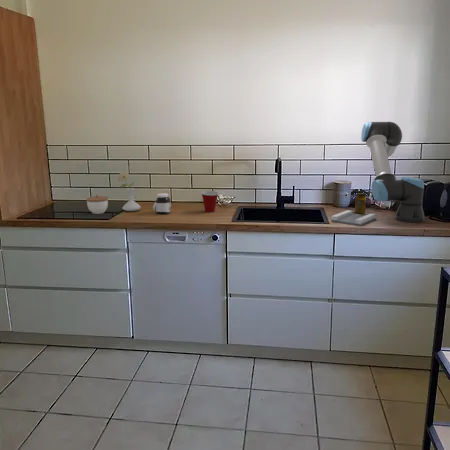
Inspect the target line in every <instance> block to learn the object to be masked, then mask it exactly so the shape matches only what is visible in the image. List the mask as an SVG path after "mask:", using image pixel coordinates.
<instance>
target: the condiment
mask: <svg viewBox="0 0 450 450" xmlns="http://www.w3.org/2000/svg"><path fill="white" fill-rule="evenodd" d="M366 197H367V196H366V194H365V193H357V196H355V200H354V201H355V203H354V211H352V214H354V215H361V216H363V215H368V214H369V212H366V208H367V207H366V205H367V198H366Z"/></svg>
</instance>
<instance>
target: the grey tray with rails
mask: <svg viewBox="0 0 450 450" xmlns="http://www.w3.org/2000/svg"><path fill="white" fill-rule="evenodd" d="M352 212H353V210H349V209H348V210H344V211H342V212H339V213H336V214H334V215H331V216H330V217H331V218H330V222H333V223H339V224H345V225H351V226H357V225H358V227H359V226H360V227H361V225H362V226H363V225H366V224H369V223H370V222H372V221H375V220H376V216H377V214H376V213H368V214H365V215H356V214H352Z"/></svg>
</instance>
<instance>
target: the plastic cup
mask: <svg viewBox="0 0 450 450" xmlns="http://www.w3.org/2000/svg"><path fill="white" fill-rule="evenodd" d="M219 193H220V192H218V191H215V190H203V191H201V192H200V194H201V196H202V201H203V206H204V211H205V213H214V212H215V211H216V205H217V199H218V196H219Z"/></svg>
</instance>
